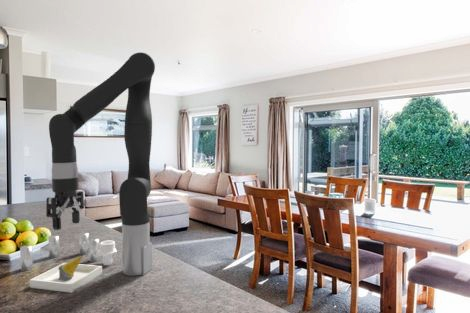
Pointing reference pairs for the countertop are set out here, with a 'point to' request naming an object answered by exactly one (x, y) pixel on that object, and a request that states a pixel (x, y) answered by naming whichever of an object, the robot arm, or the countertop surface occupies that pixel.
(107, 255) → the pipe fitting
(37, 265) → the countertop surface
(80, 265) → the tray
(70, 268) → the stepped yellow cone
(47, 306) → the countertop surface
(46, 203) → the robot arm
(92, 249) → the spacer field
